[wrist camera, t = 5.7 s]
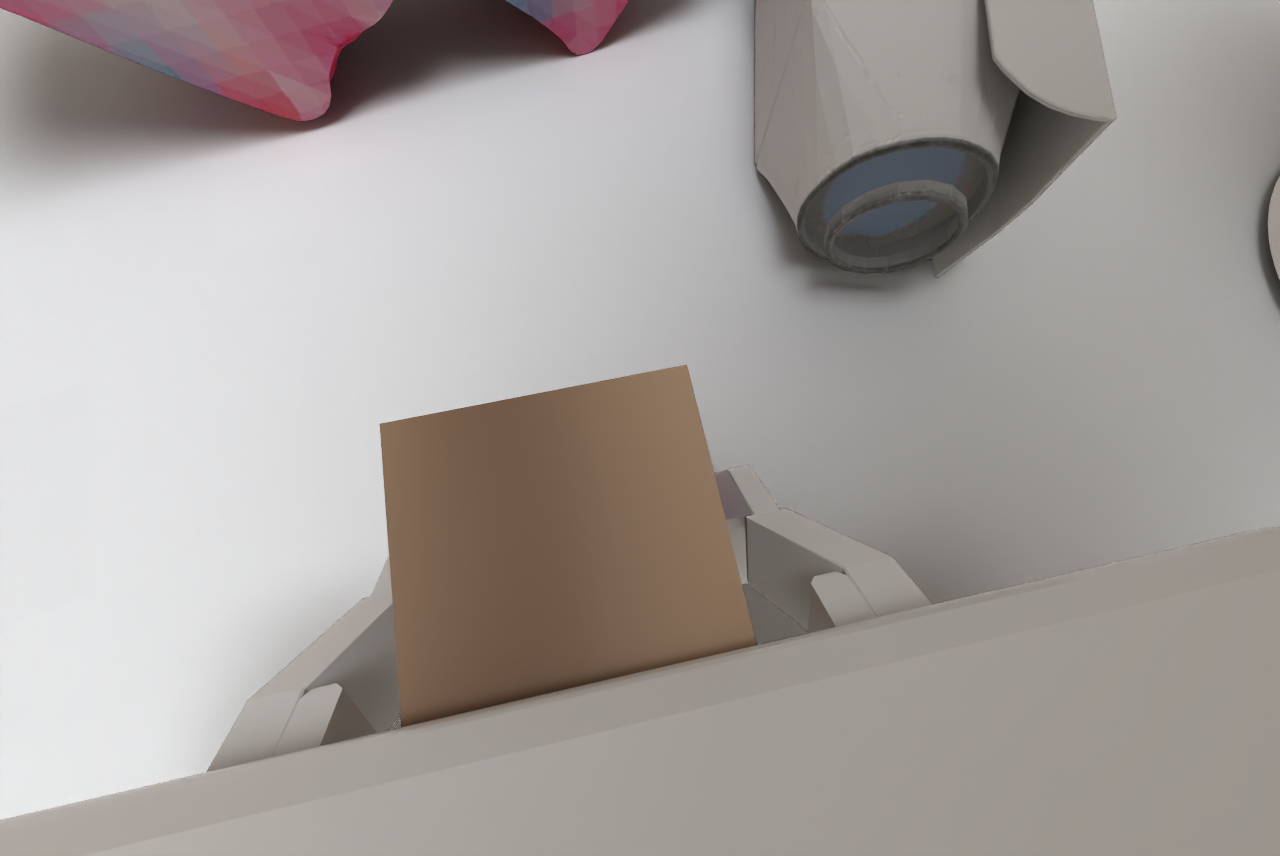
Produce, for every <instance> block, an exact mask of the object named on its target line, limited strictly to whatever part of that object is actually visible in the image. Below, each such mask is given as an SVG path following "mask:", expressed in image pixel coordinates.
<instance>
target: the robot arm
mask: <svg viewBox="0 0 1280 856" xmlns="http://www.w3.org/2000/svg"><path fill="white" fill-rule="evenodd" d="M1268 236H1269V244H1270V250H1271V254H1272V258H1273V262H1274V266H1275V269H1276V272H1277V274H1278V277H1279V280H1280V176H1279V178H1278V180H1277V182H1276V185H1275V187H1274V190H1273V193H1272V196H1271V200H1270V205H1269V213H1268ZM714 475H715V479H716V483H717V487H718V491H719V495H720V499H721V503H722V507H723V511H724V515H725V519H726V523H727V527H728V531H729V535H730V539H731V543H732V547H733V551H734V555H735V559H736V563H737V566H738V570H739V574H740V578H741V582H742V584H746V583H749V586H751V587H752V588H753V589H755V590H756V591H757V592H758V593H760V594H761V595H762V596H764V597H765V598H766V599H767V600H769V601H770V602H771V603H773V604H774V605H775V606H776V607H778V608H779V609H780V610H782V611H783V612H784V613H785V614H787V615H788V616H789V617H791V618H792V619H793V620H794V621H796V622H797V623H798V624H800V625H801V626H802V627H803V628H805V629H806V630H807V631H808V633H807V634H803V635H799V636H794V637H790V638H786V639H781V640H777V641H773V642H768V643H764V644H760V645H755V646H751V647H747V648H742V649H738V650H734V651H729V652H725V653H721V654H716V655H712V656H708V657H703V658H699V659H695V660H690V661H686V662H682V663H677V664H673V665H668V666H664V667H660V668H655V669H651V670H647V671H642V672H638V673H634V674H629V675H625V676H621V677H617V678H612V679H608V680H604V681H599V682H595V683H591V684H586V685H582V686H578V687H573V688H569V689H565V690H560V691H556V692H552V693H547V694H543V695H539V696H534V697H530V698H526V699H521V700H517V701H513V702H509V703H504V704H500V705H496V706H491V707H487V708H483V709H478V710H474V711H470V712H465V713H461V714H457V715H452V716H448V717H444V718H439V719H435V720H431V721H426V722H422V723H418V724H413V725H409V726H405V727H400V728H396V729H392V730H389V729H390V727H391V726H392V725H393V723H394V722H395V720H396V719H397V718H398V716H399V715H400V700H399V686H398V671H397V657H396V643H395V629H394V615H393V601H392V587H391V573H390V559H389V556H388V558H387V560H386V563H385V565H384V567H383V570H382V572H381V574H380V577H379V579H378V581H377V584H376V586H375V588H374V591H373V593H372V595H371V597H368V598H363V599H362V600H361V601H360V602H359V603H358V604H356V605H355V606H354V607H353V608H352V609H351V610H350V611H349V612H347V613H346V614H345V615H344V616H343V617H342V618H341V619H339V620H338V621H337V622H336V623H335V624H334V625H333V626H332V627H330V628H329V629H328V630H327V631H326V632H325V633H324V634H323V635H321V636H320V637H319V638H318V639H317V640H316V641H315V642H313V643H312V644H311V645H310V646H309V647H308V648H307V649H306V650H304V651H303V652H302V653H301V654H300V655H299V656H298V657H296V658H295V659H294V660H293V661H292V662H291V663H290V664H289V665H287V666H286V667H285V668H284V669H283V670H282V671H281V672H280V673H278V674H277V675H276V676H275V677H274V678H273V679H272V680H270V681H269V682H268V683H267V684H266V685H265V686H264V687H263V688H261V689H260V690H259V691H258V692H257V693H256V694H255V695H253V696H252V697H251V698H250V699H249V700H248V701H247V702H246V704H245V706H244V708H243V709H242V711H241V713H240V715H239V716H238V718H237V720H236V722H235V723H234V725H233V727H232V729H231V730H230V732H229V734H228V736H227V737H226V739H225V741H224V742H223V744H222V746H221V748H220V749H219V751H218V753H217V755H216V756H215V758H214V760H213V762H212V763H211V765H210V767H209V769H208V770H207V772H206V773H202V774H197V775H193V776H189V777H184V778H180V779H176V780H171V781H167V782H163V783H158V784H154V785H150V786H145V787H141V788H137V789H132V790H128V791H124V792H119V793H115V794H111V795H106V796H102V797H98V798H93V799H89V800H85V801H81V802H76V803H72V804H68V805H63V806H59V807H55V808H50V809H46V810H42V811H37V812H33V813H29V814H24V815H20V816H16V817H11V818H7V819H3V820H0V856H1280V527H1274V528H1264V529H1258V530H1252V531H1247V532H1242V533H1238V534H1234V535H1230V536H1226V537H1221V538H1217V539H1213V540H1209V541H1205V542H1201V543H1196V544H1192V545H1188V546H1183V547H1179V548H1175V549H1170V550H1166V551H1162V552H1157V553H1153V554H1149V555H1144V556H1140V557H1136V558H1131V559H1127V560H1123V561H1118V562H1114V563H1110V564H1105V565H1101V566H1097V567H1092V568H1088V569H1084V570H1080V571H1075V572H1071V573H1067V574H1062V575H1058V576H1054V577H1049V578H1045V579H1041V580H1036V581H1032V582H1028V583H1023V584H1019V585H1015V586H1010V587H1006V588H1002V589H997V590H993V591H989V592H984V593H980V594H976V595H971V596H967V597H963V598H958V599H954V600H950V601H945V602H941V603H937V604H932V603H931V602H930V601H929V599H928V598H927V597H926V596H925V595H924V593H923V592H922V591H921V590H920V589H919V588H918V586H917V585H916V584H915V583H914V582H913V580H912V579H911V578H910V577H909V576H908V574H907V573H906V572H905V571H904V570H903V568H902V567H901V566H900V565H899V564H898V563H897V561H896V560H895V559H894V558H893V557H891V556H889V555H887V554H885V553H883V552H880V551H878V550H876V549H874V548H872V547H870V546H867V545H865V544H863V543H861V542H859V541H857V540H854V539H852V538H850V537H848V536H846V535H843V534H841V533H839V532H837V531H835V530H833V529H830V528H828V527H826V526H824V525H822V524H820V523H817V522H815V521H813V520H811V519H809V518H806V517H804V516H802V515H800V514H798V513H796V512H793V511H791V510H789V509H787V508H784V509H779V508H778V507H777V505H776V503H775V502H774V500H773V499H772V497H771V496H770V494H769V493H768V491H767V489H766V488H765V486H764V485H763V483H762V482H761V480H760V479H759V477H758V476H757V474H756V472H755V471H754V469H753V468H752V466H750V465H743V466H739V467H735V468H731V469H727V470H726V471H721V472H716V473H714Z"/></svg>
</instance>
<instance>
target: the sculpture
mask: <svg viewBox="0 0 1280 856" xmlns="http://www.w3.org/2000/svg"><path fill="white" fill-rule="evenodd" d="M392 1H393V0H0V8H2V9H4V10H7V11H10V12H12V13H15V14H17V15H20V16H23V17H25V18H28V19H30V20H33V21H35V22H37V23H40V24H42V25H45V26H47V27H50V28H52V29H55V30H57V31H60V32H62V33H64V34H67V35H69V36H72V37H74V38H77V39H79V40H82V41H84V42H87V43H89V44H91V45H94V46H96V47H99V48H101V49H104V50H106V51H109V52H111V53H114V54H116V55H119V56H121V57H124V58H126V59H129V60H131V61H134V62H136V63H139V64H141V65H144V66H146V67H149V68H151V69H154V70H156V71H159V72H161V73H164V74H166V75H169V76H172V77H174V78H177V79H180V80H182V81H185V82H187V83H190V84H193V85H195V86H198V87H201V88H203V89H206V90H209V91H211V92H214V93H216V94H219V95H222V96H224V97H227V98H230V99H232V100H235V101H238V102H241V103H244V104H246V105H249V106H252V107H255V108H258V109H261V110H263V111H266V112H269V113H272V114H275V115H278V116H280V117H283V118H287V119H292V120H297V121H307V120H313V119H315V118H317V117H319V116H321V115H323V114H325V112H326V111H327V109H328V108H329V106H330V100H331V88H330V81H331V79H332V78H333V76H334V73H335V70H336V66H337V62H336V60H337V59H338V57H339V55H340V51H341V50H342V49H343V48H344V47H345V46H346V45H348V44H350V43H351V42H353V41H354V40H356V39H357V38H358V37H359V35H360V34H361V33H362V32H363V31H364V30H365V29H367V28H369V27H371V26H373V25H374V24H375V23H376V22H377V21H379V20H380V19H381V18H382V17H383V15H384V14H385V12H386V11H387V10H388V8H389V7H390V5H391V3H392ZM505 1H507V2H509V3H510V4H512V5H514V6H515V7H517V8H518V9H520V10H522V11H523V12H525V13H527V14H528V15H530V16H532V17H533V18H535V19H536V20H537V21H539V22H540V23H541V24H543V25H544V26H545V27H547V28H548V29H549V30H551V31H552V32H553V33H554V34H555V35H557V36H558V37H559V38H560V39H561V40H562V41H563V42H564V43H565V44H566V46H567V47H568V49H569V50H570V51H571V52H573V53H575V54H576V55H582V54H586V53H590V52H591V51H593V50H594V49H595V48H596V47H597V46H598V45H599V44H600V43H601V42H602V40H603V39H604V37H605V36H606V34H607V33H608V31H609V30H610V28H611V27H612V25H613V24H614V22H615V21H616V19H617V18H618V16H619V15H620V13H621V12H622V10H623V9H624V7H625V6H626V4H627V3H628V1H629V0H505Z"/></svg>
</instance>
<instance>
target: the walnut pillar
mask: <svg viewBox="0 0 1280 856" xmlns="http://www.w3.org/2000/svg"><path fill="white" fill-rule="evenodd" d="M380 433H381V447H382V461H383V475H384V489H385V503H386V517H387V531H388V545H389V559H390V573H391V587H392V601H393V615H394V629H395V643H396V657H397V671H398V686H399V700H400V714H401V727H405V726H409V725H413V724H418V723H422V722H426V721H431V720H435V719H439V718H444V717H448V716H452V715H457V714H461V713H465V712H470V711H474V710H478V709H483V708H487V707H491V706H496V705H500V704H504V703H509V702H513V701H517V700H521V699H526V698H530V697H534V696H539V695H543V694H547V693H552V692H556V691H560V690H565V689H569V688H573V687H578V686H582V685H586V684H591V683H595V682H599V681H604V680H608V679H612V678H617V677H621V676H625V675H629V674H634V673H638V672H642V671H647V670H651V669H655V668H660V667H664V666H668V665H673V664H677V663H682V662H686V661H690V660H695V659H699V658H703V657H708V656H712V655H716V654H721V653H725V652H729V651H734V650H738V649H742V648H747V647H751V646H755V645H757V642H756V638H755V634H754V630H753V626H752V622H751V618H750V614H749V610H748V606H747V602H746V598H745V594H744V590H743V586H742V582H741V578H740V574H739V570H738V566H737V563H736V559H735V555H734V551H733V547H732V543H731V539H730V535H729V531H728V527H727V523H726V519H725V515H724V511H723V507H722V503H721V499H720V495H719V491H718V487H717V483H716V479H715V475H714V471H713V467H712V463H711V459H710V455H709V451H708V447H707V443H706V439H705V435H704V431H703V427H702V423H701V419H700V415H699V411H698V407H697V403H696V399H695V395H694V391H693V387H692V383H691V379H690V375H689V371H688V367H687V365H683V366H678V367H673V368H668V369H662V370H657V371H652V372H647V373H642V374H636V375H631V376H626V377H621V378H616V379H611V380H605V381H600V382H595V383H590V384H585V385H579V386H574V387H569V388H564V389H559V390H553V391H548V392H543V393H538V394H533V395H528V396H522V397H517V398H512V399H507V400H502V401H496V402H491V403H486V404H481V405H476V406H470V407H465V408H460V409H455V410H450V411H444V412H439V413H434V414H429V415H424V416H419V417H413V418H408V419H403V420H398V421H393V422H387V423H382V424H380Z"/></svg>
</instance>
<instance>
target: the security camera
mask: <svg viewBox="0 0 1280 856" xmlns="http://www.w3.org/2000/svg"><path fill="white" fill-rule="evenodd" d="M1115 119H1116V113H1115V108H1114V103H1113V98H1112V93H1111V88H1110V83H1109V79H1108V74H1107V69H1106V64H1105V59H1104V54H1103V49H1102V44H1101V40H1100V35H1099V30H1098V25H1097V20H1096V15H1095V10H1094V5H1093V1H1092V0H756V3H755V164H757V166H756V168H757V170H758V171H759V172H760V173H761V174H762V175H763V176H765V177H766V178H767V180H768V181H769V183H770V184H771V186H772V187H773V189H774V190H775V192H776V193H777V195H778V196H779V197H780V199H781V200H782V202H783V204H784V206H785V207H786V209H787V211H788V212H789V214H790V216H791V218H792V219H793V221H794V223H795V226H796V229H797V233H798V236H799V239H800V241H801V243H802V244H803V246H804V247H805V248H806V249H807V250H809V251H810V252H812V253H813V254H815V255H817V256H820V257H823V258H825V259H829V260H830V262H832V263H833V264H835V265H837V266H838V267H840V268H842V269H844V270H847V271H853V272H859V273H883V272H891V271H895V270H900V269H904V268H908V267H912V266H915V265H917V264H920V263H922V262H924V261H927V260H929V259H931V258H932V262H933V269H934V276H935V278H938V277H940V276H941V275H942V274H944V273H945V272H946V271H948V270H949V269H950V268H952V267H953V266H954V265H956V264H957V263H958V262H960V261H961V260H962V259H964V258H965V257H966V256H968V255H969V254H971V253H972V252H973V251H975V250H976V249H977V248H979V247H980V246H981V245H983V244H984V243H986V242H987V241H988V240H990V239H991V238H992V237H994V236H995V235H996V234H998V233H999V232H1000V231H1001V230H1002V229H1004V228H1005V227H1006V226H1007V225H1008V224H1009V223H1010V222H1012V221H1013V220H1014V219H1015V218H1016V217H1017V216H1019V215H1020V214H1021V213H1022V212H1023V211H1024V210H1026V209H1027V208H1028V207H1029V206H1030V205H1031V204H1032V203H1033V202H1034V201H1035V200H1036V199H1037V198H1038V197H1039V196H1040V195H1041V194H1042V193H1043V192H1044V191H1045V190H1046V189H1047V188H1048V187H1049V186H1050V185H1051V184H1052V183H1053V182H1054V181H1055V180H1056V179H1057V178H1058V177H1059V176H1060V175H1061V174H1062V173H1063V172H1064V171H1065V169H1066V168H1067V167H1068V166H1069V165H1070V164H1071V163H1072V162H1073V161H1074V160H1075V159H1076V158H1077V157H1078V156H1079V155H1080V154H1081V153H1082V152H1083V151H1084V150H1085V149H1086V148H1087V147H1088V146H1089V145H1090V144H1091V143H1092V142H1093V141H1094V140H1095V139H1096V138H1097V137H1098V136H1099V135H1100V134H1101V133H1102V132H1103V131H1104V130H1105V129H1106V128H1107V127H1108V126H1109V125H1110V124H1111V123H1112V122H1113V121H1114V120H1115Z"/></svg>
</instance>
